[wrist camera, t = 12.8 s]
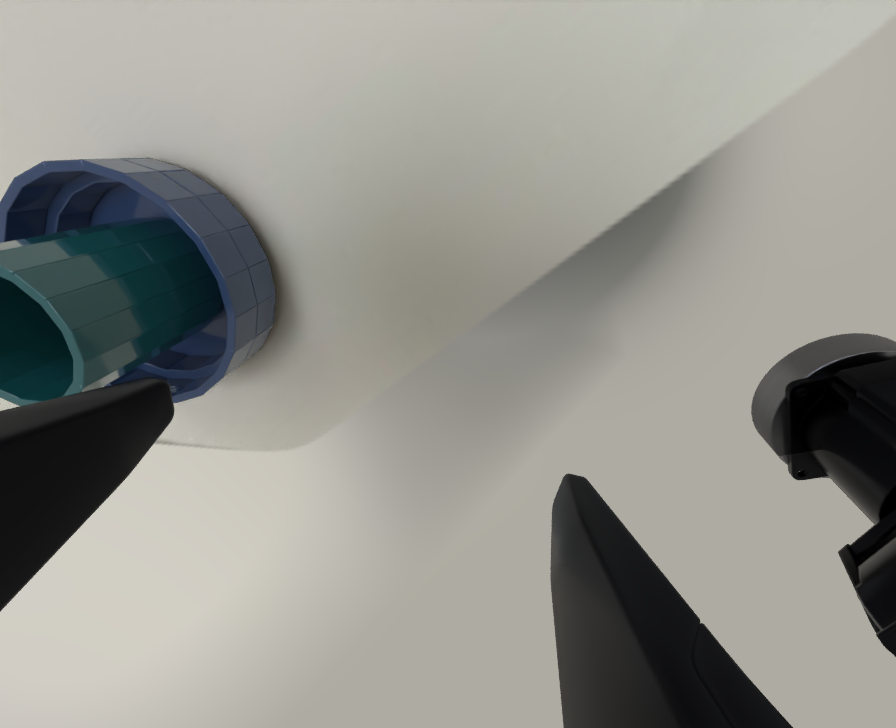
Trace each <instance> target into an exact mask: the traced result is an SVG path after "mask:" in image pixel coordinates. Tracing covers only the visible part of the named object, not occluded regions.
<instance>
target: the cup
mask: <svg viewBox="0 0 896 728" xmlns="http://www.w3.org/2000/svg"><path fill="white" fill-rule="evenodd" d="M224 308H225V307H224V303H223V300H222V296H221V293H220V289H219V286H218V282H217V279H216V278H215V276H214V274H213V273H212V271H211V269H210V268H209V266H208V264H207V263H206V261H205V259H204V257H203V256H202V254H201V252H200V251H199V249H198V247H197V246H196V244H195V242H194V241H193V240H192V239H191V238H190V237H189V236H188V235H187V234H186V233H185V232H184V231H183V230H182V229H181V228H180V227H179V225H178V224H177V223H176V222H175V221H174V220H172V219H169V218H164V217H147V218H135V219H129V220H124V221H118V222H113V223H107V224H102V225H96V226H91V227H85V228H80V229H74V230H69V231H63V232H58V233H52V234H47V235H41V236H36V237H30V238H25V239H19V240H14V241H8V242H3V243H0V398H2V399H5V400H7V401H9V402H12V403H14V404H16V405H18V406H24V405H29V404H33V403H37V402H41V401H46V400H50V399H54V398H58V397H63V396H67V395H71V394H75V393H80V392H84V391H88V390H92V389H97V388H101V387H103V386H105V385H107V384H108V383H110V382H112V381H114V380H115V379H117V378H119V377H121V376H122V375H124V374H126V373H127V372H129V371H131V370H133V369H134V368H136V367H138V366H140V365H141V364H143V363H145V362H147V361H148V360H150V359H152V358H154V357H155V356H157V355H159V354H160V353H162V352H164V351H166V350H167V349H169V348H171V347H173V346H174V345H176V344H178V343H180V342H181V341H183V340H185V339H187V338H188V337H190V336H192V335H193V334H195V333H197V332H199V331H200V330H202V329H204V328H206V327H207V326H208V325H209V324H211V323H212V322H214V321H215V320H216V319H217V318H218V317H219V316H220V315H221V313H222V312H223V310H224Z"/></svg>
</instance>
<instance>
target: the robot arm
mask: <svg viewBox="0 0 896 728" xmlns="http://www.w3.org/2000/svg"><path fill="white" fill-rule="evenodd" d="M799 388H801V390H800V391H798V392H795V391H796V390H797V389H799ZM785 400H786V426H787V451H788V471H789V473H790V474H791V475H792V477H793V478H795V479H797V480H806V479H813V478H820V477H827V476H829V477H830V478H831V479H832V480H833V482H834V483H835V484H836V485H837V486H838V487H839V488H840V489H841V490H842V491H843V492H844V493H845V494H846V495H847V496H848V497H849V498H850V499H851V500H852V501H853V502H854V503H855V504H856V506H857V507H858V508H859V509H860V510H861V511H862V512H863V513H864V514H865V515H866V516H867V517H868V518H869V519H870V520H871V521H872V522H873V523H874V524H875V525H874V526H873V527H871V528H870V529H869V530H868V531H867V532H865V533H864V534H863V535H862V536H861V537H859V538H858V539H857V540H856V541H855V542H853V544H851V545H849V544H847V545H846V546H844V547H843V548H842V549H841V550H840V551H839V552H838V553H839V556H840V557H841V560H842V562H843V564H844V566H845V569H846V571H847V573H848V575H849V577H850V580H851V581H852V584H853V586H854V588H855V590H856V593H857V596H858V598H859V600H860V602H861V604H862V606H863V608H864V610H865V612H866V614H867V616H868V619H869V621H870V623H871V625H872V626H873V628H874V630H875V632H876V633H877V634H876V635H877V637H878V638H879V639H880V641H881V643H882V644H883V645H884V646H885V647H886V648H887V649H888V650H889V651H890V652H891V653H892V654H894V655H895V657H896V359H892V360H888V361H883V362H878V363H873V364H868V365H863V366H858V367H853V368H848V369H843V370H840V371H837V372H833V373H828V374H823V375H818V376H813V377H808V378H803V379H798V380H794V381H792V382H790V383H789V384H788V385H787V386H786V389H785ZM173 416H174V405H173V399H172V393H171V387H170V384H169V383H168V382H167V381H166V380H163V379H158V378H154V377H143V378H139V379H135V380H131V381H126V382H122V383H118V384H114V385H109V386H105V387H101V388H97V389H92V390H88V391H84V392H80V393H75V394H71V395H67V396H63V397H58V398H54V399H50V400H46V401H41V402H37V403H33V404H29V405H24V406H20V407H16V408H12V409H7V410H3V411H0V611H1V610H2V609H3V608H4V607H5V606H6V605H7V604H8V603H9V602H10V601H11V599H12V598H13V597H14V596H15V595H16V594H17V593H18V592H19V591H20V590H21V589H22V588H23V587H24V586H25V585H26V584H27V583H28V582H29V580H30V579H31V578H32V577H33V576H34V575H35V574H36V573H37V572H38V571H39V570H40V569H41V568H42V567H43V566H44V565H45V563H47V561H48V560H49V559H50V558H51V557H52V556H53V555H54V554H55V553H56V552H57V551H58V549H60V548H61V547H62V546H63V545H64V544H65V542H66V541H67V540H68V539H69V538H70V537H71V536H72V535H73V534H74V533H75V532H76V531H77V530H78V529H79V528H80V526H81V525H82V524H83V523H84V522H85V521H86V520H87V519H88V518H89V517H90V516H91V515H92V514H93V513H94V512H95V511H96V510H97V509H98V508H99V506H100V505H101V504H102V503H103V502H104V501H105V500H106V499H107V498H108V497H109V496H110V495H111V494H112V493H113V492H114V491H115V490H116V489H117V487H118V486H119V485H120V484H121V483H122V482H123V481H124V480H125V479H126V478H127V476H128V475H129V474H130V473H131V472H132V470H133V469H134V468H135V467H136V466H137V464H138V463H139V462H140V460H141V459H142V458H143V456H144V455H145V454H146V453H147V451H148V450H149V449H150V448H151V446H152V445H153V444H154V442H155V441H156V440H157V439H158V437H159V436H160V435H161V434H162V432H163V431H164V430H165V428H166V427H167V426H168V425H169V423H170V422H171V420H172V418H173ZM801 470H802V471H801ZM799 471H800V472H799ZM551 590H552V591H551V592H552V603H553V613H554V625H555V636H556V646H557V658H558V669H559V680H560V691H561V701H562V713H563V723H564V728H793V727H792V726H791V725H790V724H789V723H788V722H787V721H786V719H785V718H784V717H783V716H782V715H781V714H780V713H779V712H778V711H777V710H776V708H775V707H774V706H773V705H772V704H771V703H770V702H769V701H768V699H767V698H766V697H765V696H764V695H763V694H762V693H761V692H760V690H759V689H758V688H757V687H756V686H755V685H754V684H753V683H752V681H751V680H750V679H749V678H748V677H747V676H746V675H745V673H744V672H743V671H742V670H741V669H740V667H739V666H738V665H737V664H736V663H735V661H734V660H733V659H732V658H731V657H730V655H729V654H728V653H727V652H726V651H725V649H724V648H723V647H722V646H721V645H720V644H719V642H718V641H717V640H716V638H715V637H714V636H713V635H712V634H711V632H710V631H709V630H708V629H707V627H706V626H705V625H704V624H702V623H700V619H699V618H698V617H697V615H696V614H695V613H694V611H693V610H692V609H691V608H690V607H689V605H688V604H687V603H686V602H685V600H684V599H683V598H682V597H681V595H680V594H679V593H678V592H677V591H676V589H675V588H674V587H673V586H672V584H671V583H670V582H669V580H668V579H667V578H666V577H665V576H664V574H663V573H662V572H661V571H660V569H659V568H658V567H657V566H656V564H655V563H654V562H653V561H652V559H651V558H650V557H649V556H648V554H647V553H646V552H645V551H644V550H643V548H642V547H641V546H640V545H639V543H638V542H637V541H636V540H635V538H634V537H633V536H632V535H631V533H630V532H629V531H628V530H627V528H626V527H625V526H624V525H623V523H622V522H621V521H620V520H619V519H618V518H617V516H616V515H615V514H614V512H613V511H612V510H611V509H610V507H609V506H608V505H607V504H606V502H605V501H604V500H603V499H602V497H601V496H600V495H599V494H598V493H597V491H596V490H595V489H594V488H593V486H592V485H591V484H590V483H589V481H588V480H587V479H586V478H584V477H581V476H577V475H573V474H566V475H565V476H564V477H563V480H562V482H561V484H560V487H559V490H558V492H557V494H556V497H555V499H554V503H553V508H552V536H551Z"/></svg>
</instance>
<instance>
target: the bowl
mask: <svg viewBox="0 0 896 728" xmlns="http://www.w3.org/2000/svg"><path fill="white" fill-rule="evenodd" d="M147 217H164V218H169V219H172V220H174V221H175V222H176V223H177V224H178V225H179V227H180V228H181V229H182V230H183V231H184V232H185V233H186V234H187V235H188V236H189V237H190V238H191V239H192V240H193V241H194V242H195V244H196V246H197V247H198V249H199V251H200V252H201V254H202V256H203V257H204V259H205V261H206V263H207V264H208V266H209V268H210V269H211V271H212V273H213V274H214V276H215V278H216V279H217V282H218V286H219V289H220V293H221V296H222V300H223V303H224V307H225V308H224V310H223V312H222V313H221V315H220V316H219V317H218V318H217V319H216V320H215V321H214V322H212V323H211V324H209V325H208V326H207V327H206V328H204V329H202V330H200V331H199V332H197V333H195V334H193V335H192V336H190V337H188V338H187V339H185V340H183V341H181V342H180V343H178V344H176V345H174V346H173V347H171V348H169V349H167V350H166V351H164V352H162V353H160V354H159V355H157V356H155V357H154V358H152V359H150V360H148V361H147V362H145V363H143V364H141V365H140V366H138V367H136V368H134V369H133V370H131V371H129V372H127V373H126V374H124V375H122V376H121V377H119V378H117V379H115V380H114V381H112V382H110V383H108V384H107V385H105V386H109V385H114V384H118V383H122V382H126V381H131V380H135V379H139V378H143V377H154V378H158V379H163V380H166V381H167V382H168V383H169V384H170V387H171V393H172V399H173V403H178V402H182V401H185V400H188V399H192V398H195V397H199V396H202V395H204V394H205V393H206V392H208V391H209V390H210V389H211V388H213V387H214V386H215V385H216V384H218V383H219V382H220V381H222V380H223V379H224V378H225V377H227V376H228V375H229V374H230V373H232V372H233V371H234V370H236V369H237V368H238V367H239V366H241V365H242V364H243V363H244V362H246V361H247V360H248V359H249V358H250V357H251V356H253V355H254V354H255V353H256V352H257V351H259V350H260V349H261V347H262V346H263V344H264V342H265V340H266V338H267V336H268V334H269V332H270V330H271V328H272V326H273V320H274V308H275V297H276V295H275V294H276V291H275V287H274V282H273V278H272V274H271V269H270V265H269V260H267V256H266V255H265V253H264V251H263V249H262V247H261V245H260V243H259V241H258V239H257V238H256V236H255V234H254V232H253V230H252V228H251V226H250V225H249V223H248V222H247V221H246V220H245V218H244V217H243V216H242V215H241V214H240V213H239V212H238V211H237V210H236V208H235V207H234V206H233V205H232V204H231V203H230V202H229V201H228V199H227V198H226V197H225V196H224V195H223V194H222V193H220V192H219V191H217V190H216V189H214V188H213V187H212V186H210V185H209V184H207V183H206V182H204V181H203V180H201V179H200V178H198V177H197V176H195V175H194V174H192V173H191V172H189V171H186V170H185V169H183V168H180V167H177V166H174V165H171V164H168V163H165V162H161V161H158V160H155V159H152V158H120V159H79V160H56V161H44V162H41V163H39V164H38V165H36V166H34V167H32V168H31V169H29V170H27V171H25V172H24V173H22V174H20V175H18V176H17V177H15V178H14V179H13V181H12V183H11V184H10V186H9V188H8V189H7V191H6V193H5V195H4V196H3V198H2V200H1V201H0V243H3V242H8V241H14V240H19V239H25V238H30V237H36V236H41V235H47V234H52V233H58V232H63V231H69V230H74V229H80V228H85V227H91V226H96V225H102V224H107V223H113V222H118V221H124V220H129V219H135V218H147ZM105 386H104V387H105Z"/></svg>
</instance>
